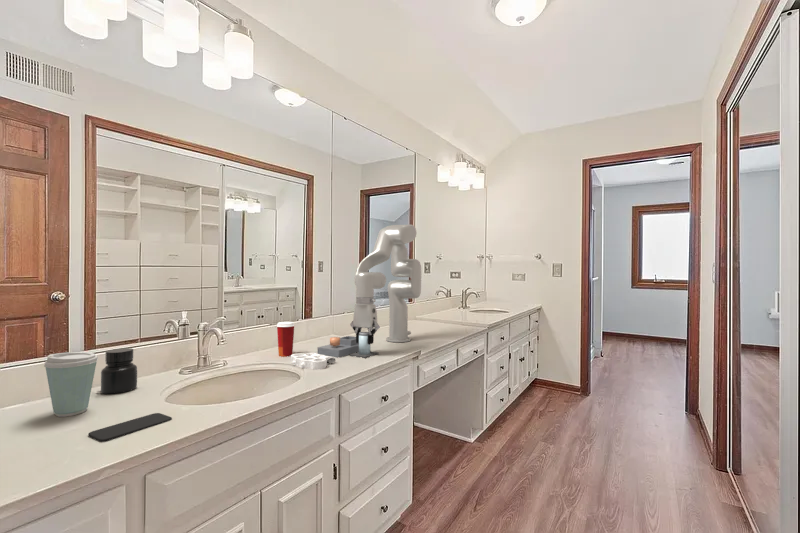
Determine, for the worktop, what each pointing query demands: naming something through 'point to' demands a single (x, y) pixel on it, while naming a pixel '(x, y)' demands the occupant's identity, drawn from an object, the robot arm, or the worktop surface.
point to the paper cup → (285, 338)
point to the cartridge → (364, 343)
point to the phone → (128, 427)
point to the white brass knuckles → (311, 360)
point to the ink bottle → (119, 372)
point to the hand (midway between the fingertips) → (364, 342)
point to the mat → (364, 355)
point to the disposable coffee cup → (70, 381)
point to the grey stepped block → (340, 347)
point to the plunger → (335, 341)
